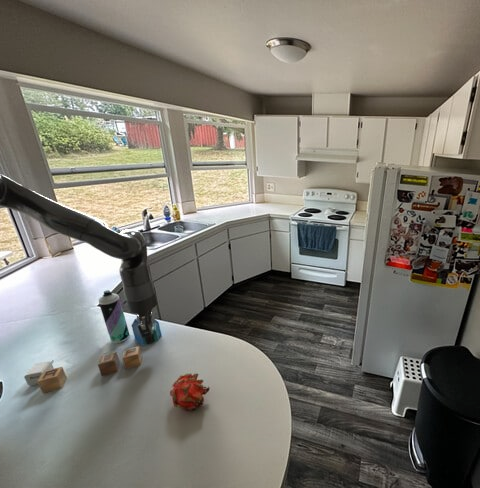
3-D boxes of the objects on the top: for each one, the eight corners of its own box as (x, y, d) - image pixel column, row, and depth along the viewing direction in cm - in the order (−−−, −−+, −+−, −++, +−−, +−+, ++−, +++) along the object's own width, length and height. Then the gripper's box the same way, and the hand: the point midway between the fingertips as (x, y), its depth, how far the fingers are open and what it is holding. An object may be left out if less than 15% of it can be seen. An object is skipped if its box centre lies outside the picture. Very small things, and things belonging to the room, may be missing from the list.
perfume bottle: (161, 335, 95) (155, 309, 91) (143, 345, 90) (136, 317, 86) (153, 329, 98) (146, 303, 94) (135, 339, 93) (127, 311, 89)
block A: (42, 393, 71) (37, 381, 70) (48, 382, 74) (43, 371, 73) (61, 387, 73) (56, 376, 71) (66, 377, 76) (62, 366, 75)
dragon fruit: (182, 391, 75) (205, 418, 69) (155, 397, 68) (177, 428, 62) (197, 364, 76) (220, 389, 70) (172, 367, 69) (196, 395, 63)
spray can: (107, 341, 91) (91, 294, 84) (122, 332, 96) (108, 286, 89) (119, 344, 90) (104, 296, 83) (133, 334, 95) (120, 288, 88)
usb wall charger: (28, 385, 73) (23, 375, 72) (42, 368, 79) (38, 358, 78) (46, 381, 75) (41, 371, 73) (59, 364, 81) (55, 354, 79)
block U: (101, 376, 77) (97, 364, 76) (104, 367, 80) (100, 355, 79) (117, 371, 79) (114, 360, 78) (120, 362, 82) (116, 351, 81)
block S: (143, 345, 80) (140, 333, 79) (145, 337, 84) (142, 326, 82) (158, 341, 82) (155, 329, 81) (159, 333, 86) (156, 322, 84)
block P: (125, 369, 80) (122, 357, 78) (127, 360, 83) (124, 349, 82) (140, 364, 82) (137, 353, 80) (142, 356, 85) (139, 345, 84)
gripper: (129, 286, 81) (140, 329, 87) (120, 309, 70) (134, 357, 75) (156, 281, 85) (165, 323, 90) (152, 302, 73) (163, 349, 79)
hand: (151, 338), depth 83 cm, fingers closed on block S, 4 cm apart
